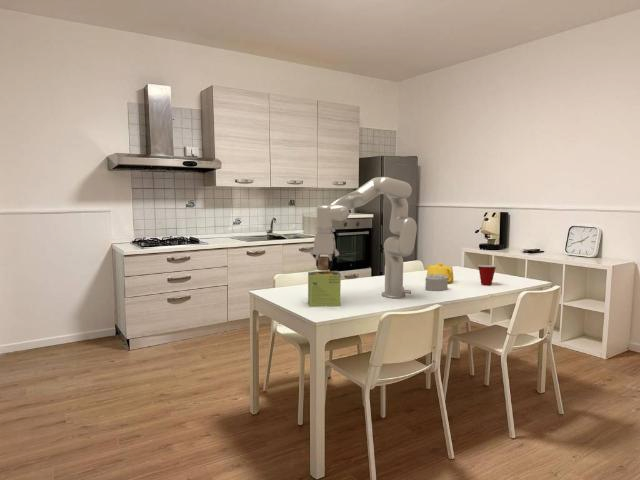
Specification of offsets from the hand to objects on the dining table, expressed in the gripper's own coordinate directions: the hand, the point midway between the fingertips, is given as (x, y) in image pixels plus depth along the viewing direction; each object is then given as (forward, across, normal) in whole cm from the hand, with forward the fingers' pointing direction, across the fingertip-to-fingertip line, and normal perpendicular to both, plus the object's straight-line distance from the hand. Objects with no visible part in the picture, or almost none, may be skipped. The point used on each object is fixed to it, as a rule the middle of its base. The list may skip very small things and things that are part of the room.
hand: (324, 267), depth 215 cm
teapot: (+18, -51, -80) cm, 96 cm away
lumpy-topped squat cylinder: (+18, -50, -54) cm, 76 cm away
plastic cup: (+18, -79, -79) cm, 113 cm away
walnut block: (+1, 0, 0) cm, 1 cm away
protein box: (+18, 0, 0) cm, 18 cm away
